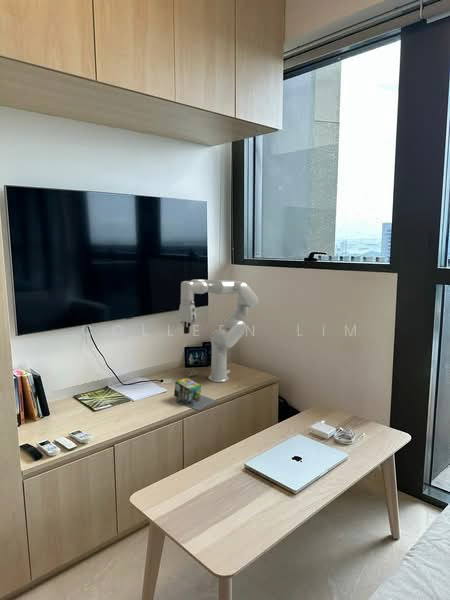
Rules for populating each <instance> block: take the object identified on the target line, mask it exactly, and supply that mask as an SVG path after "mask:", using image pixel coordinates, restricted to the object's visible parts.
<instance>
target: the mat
mask: <svg viewBox="0 0 450 600" xmlns="http://www.w3.org/2000/svg"><path fill="white" fill-rule="evenodd" d="M217 402H218V400H216V399H213V398H211V397H208V396H205V395H202V394H200V400H198V401H197V402H193V403H191V404H188V405H187V404H186V403H185V402H183V401H181V400H180V399H178V398H177V399H175V403H177V404H179V405H182V406H184V405H185V407H187V406H188V408H190V409H193V410H196V411H198V412H199V411H201V410H204V409H206V408H208V407H209V406H211V405H213V404H215V403H217Z"/></svg>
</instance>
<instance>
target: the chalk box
mask: <svg viewBox="0 0 450 600" xmlns="http://www.w3.org/2000/svg"><path fill="white" fill-rule="evenodd" d="M174 384H175V385H174V391H173V396H174V398H176V399H177V400H178V399H180V400H181V401H183V402H185V403H186V404H187V405H188V404H191V403H193V402H197V401H198V400H200V395H201V393H202V391H201V390H202V389H201V388H202V385H201V384H200V383H198V382H196V381H194V380H192V379H190V378H188V377H185V378H182V379H179V380H176V381H175V382H174Z"/></svg>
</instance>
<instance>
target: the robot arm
mask: <svg viewBox="0 0 450 600" xmlns="http://www.w3.org/2000/svg"><path fill="white" fill-rule="evenodd" d="M205 293H210V294H215V295H236V296H237V297H236V308H235V310H234V311H233V312H232V314H231V315H230V316H229V317H228V318H227V319H226V320H225V321H224V323H223V329H224V330H223V329H215V330H213V331H212V333H211V334H210V344H211V367H210V368H211V369H210V375H209V376H208V380H209V381H211V382H215V383H224V382H227V381H229V379H230V378H229V376H228V374H230V373H231V370H230V369H227V361H228V360H227V359H228V358H227V357H228V349H231V348H232V347H234V346H235V344H236V343H238V341H239V340H240V339H241V338H242V337H243V336H244V335H245V333H246V331H247V325H246V322H245V320H246V319H247V318H248V313H249V309H255V308H256V307H258V306H259V298H258V296H257V295H256V294H255V292H254V291H253V290H252V288H251V287H250V286H249V285H248V284H247V283H246V282H244V281H238V280H228V279H227V280H226V279H225V280H223V279H221V280H219V279H191V280H184V281H181V283H180V304H179V309H178V320H179V323H181V324H182V326H183V334H184V335H187V334H190V329H191V328H190V327H191V326H193V325H195V322H196V321H197V311H196V306H195V305H196V304H195V294H199V295H202V294H205Z"/></svg>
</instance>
